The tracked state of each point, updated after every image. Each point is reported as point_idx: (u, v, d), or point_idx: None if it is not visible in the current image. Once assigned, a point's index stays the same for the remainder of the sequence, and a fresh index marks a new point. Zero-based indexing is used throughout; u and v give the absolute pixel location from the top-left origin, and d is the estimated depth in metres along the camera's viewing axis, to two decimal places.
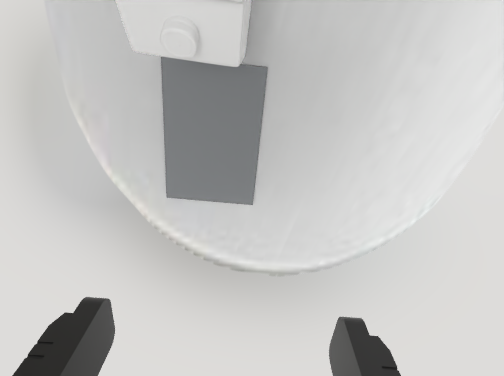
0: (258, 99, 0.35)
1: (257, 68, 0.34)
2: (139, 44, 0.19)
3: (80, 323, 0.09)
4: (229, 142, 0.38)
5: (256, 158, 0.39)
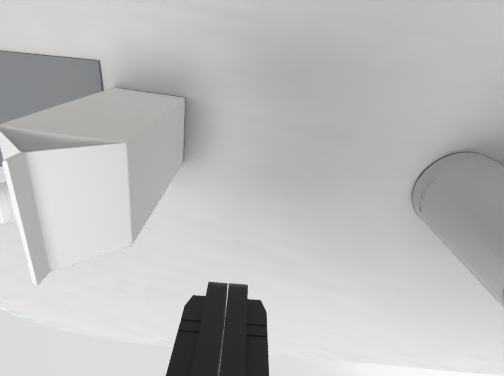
0: None
1: None
2: (0, 140, 0.16)
3: (216, 303, 0.10)
4: None
5: None
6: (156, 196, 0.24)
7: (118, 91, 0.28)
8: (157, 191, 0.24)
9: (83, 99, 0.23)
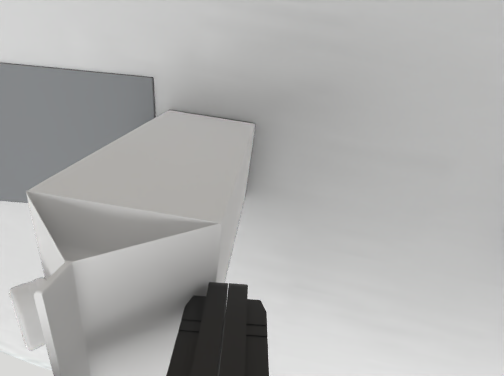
0: None
1: None
2: (32, 214, 0.10)
3: (216, 303, 0.10)
4: (50, 167, 0.26)
5: None
6: (228, 262, 0.18)
7: (176, 116, 0.22)
8: (230, 255, 0.18)
9: (139, 131, 0.18)
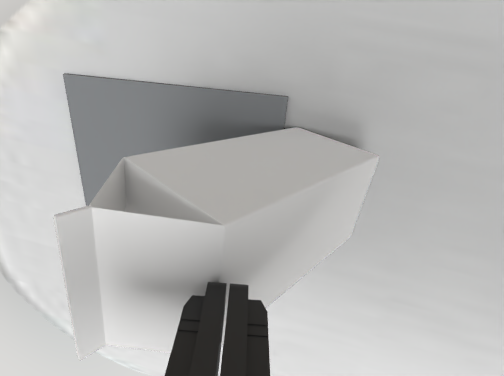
0: None
1: None
2: None
3: (215, 303, 0.10)
4: None
5: None
6: (281, 286, 0.17)
7: (297, 132, 0.23)
8: (285, 280, 0.17)
9: (248, 137, 0.20)
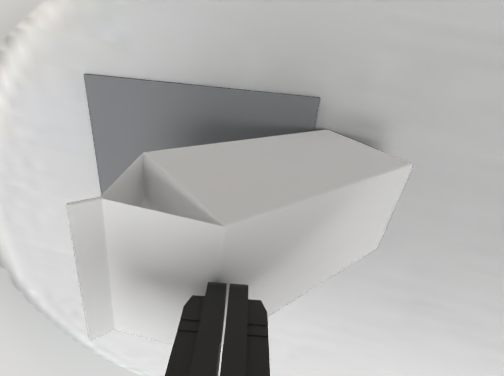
0: None
1: None
2: None
3: (215, 303, 0.10)
4: None
5: None
6: (292, 292, 0.16)
7: (326, 135, 0.22)
8: (297, 286, 0.16)
9: (272, 138, 0.19)
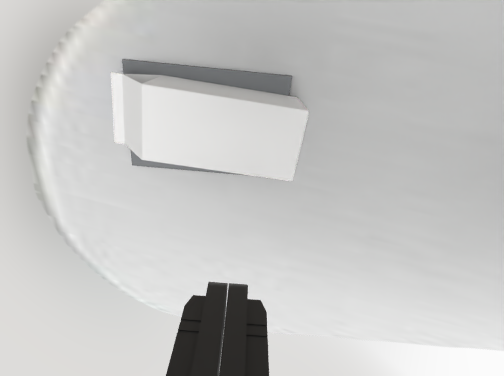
0: None
1: None
2: None
3: (216, 303, 0.10)
4: None
5: (188, 168, 0.37)
6: (196, 159, 0.29)
7: (284, 96, 0.32)
8: (199, 156, 0.28)
9: (239, 88, 0.32)
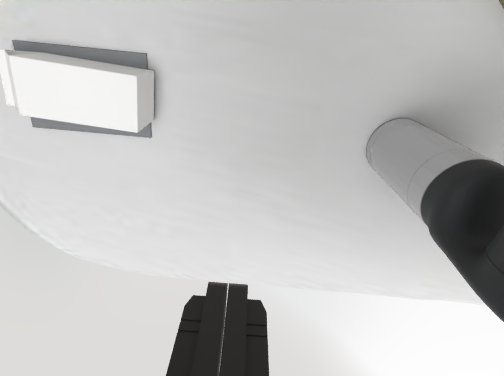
0: (127, 131, 0.46)
1: (148, 130, 0.46)
2: None
3: (216, 303, 0.10)
4: None
5: (78, 130, 0.46)
6: (61, 114, 0.38)
7: (139, 69, 0.41)
8: (62, 112, 0.38)
9: None
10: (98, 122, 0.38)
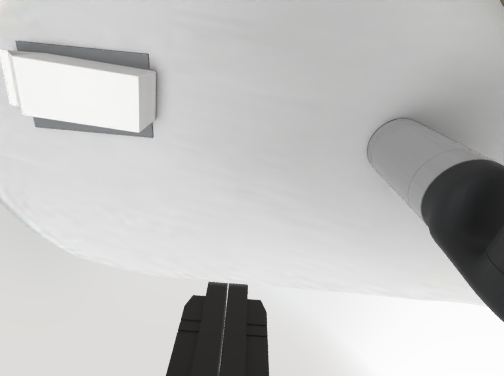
0: (128, 131, 0.46)
1: (150, 130, 0.46)
2: None
3: (216, 303, 0.10)
4: None
5: (80, 130, 0.46)
6: (63, 114, 0.38)
7: (141, 69, 0.41)
8: (65, 112, 0.38)
9: (107, 63, 0.41)
10: (100, 122, 0.38)
